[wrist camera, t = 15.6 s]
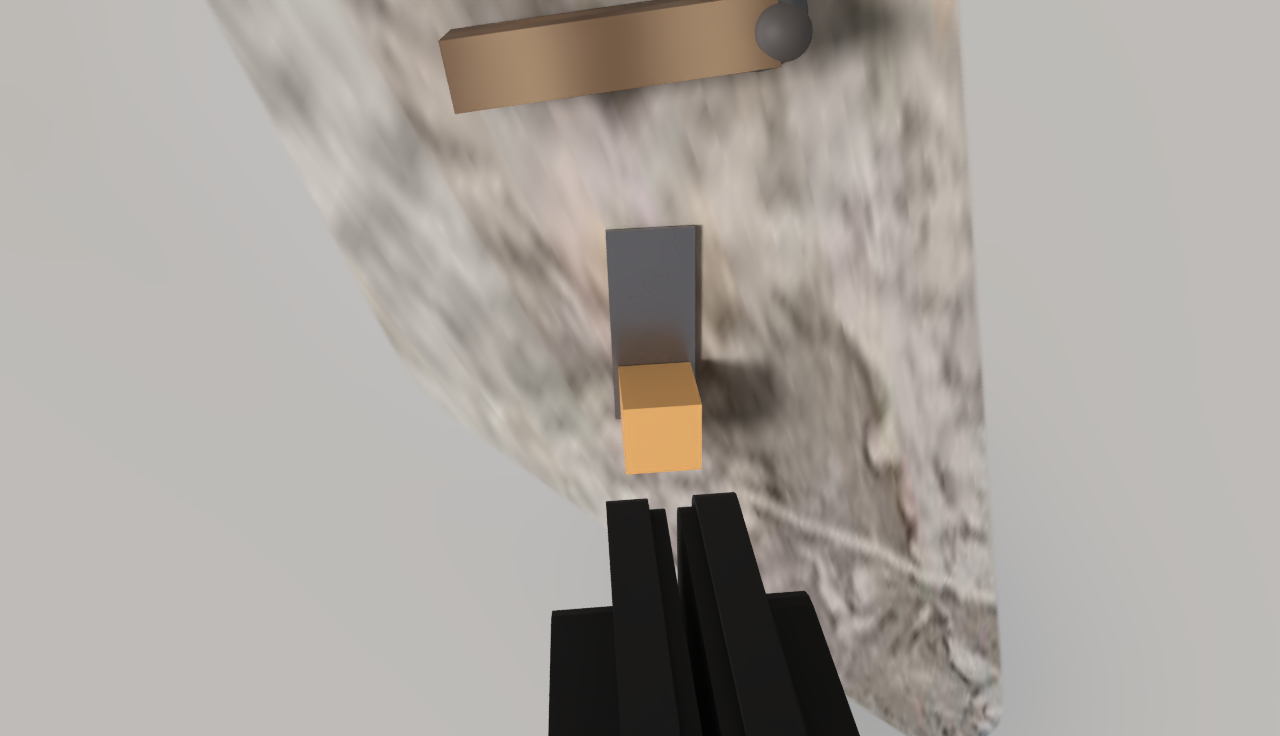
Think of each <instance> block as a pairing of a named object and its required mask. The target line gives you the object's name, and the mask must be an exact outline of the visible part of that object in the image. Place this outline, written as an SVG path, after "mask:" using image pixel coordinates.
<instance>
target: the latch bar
mask: <svg viewBox="0 0 1280 736" xmlns="http://www.w3.org/2000/svg"><path fill="white" fill-rule="evenodd" d="M812 32H813V30H812V23H811V20H810V18H809V16H808V15H807V14H806V13H805V12H804V11H803V10H802V9H800V8H798V7H795V6H793V5H790V4H788V3H785V2H782V1H780V0H652V1H645V2H638V3H631V4H625V5H618V6H611V7H604V8H597V9H590V10H583V11H576V12H569V13H562V14H555V15H548V16H541V17H534V18H527V19H520V20H513V21H506V22H499V23H492V24H485V25H479V26H472V27H465V28H458V29H451V30H450V31H449V32H448V33H447V34H446V35H444V36H443V37H442V38H441V39H440V40H439V41H438V42H439V46H440V50H441V55H442V59H443V63H444V68H445V72H446V77H447V81H448V85H449V90H450V94H451V98H452V103H453V107H454V111H455V114H458V113H465V112H472V111H479V110H486V109H493V108H500V107H507V106H514V105H521V104H528V103H534V102H541V101H548V100H555V99H562V98H569V97H576V96H583V95H590V94H597V93H604V92H611V91H617V90H624V89H631V88H638V87H645V86H652V85H659V84H666V83H673V82H680V81H687V80H694V79H700V78H707V77H714V76H721V75H728V74H735V73H742V72H749V71H756V70H763V69H770V68H776V67H781V61H783V62H786V61H791V60H794V59H796V58H798V57H799V56H801V55H802V54H803V53H804V52H805V51H806V49H807V48H808V46H809V44H810V42H811V39H812Z"/></svg>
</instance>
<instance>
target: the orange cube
mask: <svg viewBox="0 0 1280 736" xmlns="http://www.w3.org/2000/svg"><path fill="white" fill-rule="evenodd" d="M618 372H619V392H620V412H621V429H622V439H623V448H624V458H625V467H626V474H640V473H654V472H668V471H682V470H696V469H702V403H701V399H700V395H699V392H698V388H697V385H696V381H695V377H694V374H693V370H692V367H691V363H690V362H681V363H666V364H650V365H635V366H619V367H618Z"/></svg>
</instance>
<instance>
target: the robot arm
mask: <svg viewBox="0 0 1280 736" xmlns="http://www.w3.org/2000/svg"><path fill="white" fill-rule="evenodd" d="M606 510H607V525H608V541H609V556H610V570H611V571H610V572H611V587H612V603H613V606H607V607H594V608H582V609H570V610H557V611H552V618H551V649H550V693H549V735H548V736H860V735H859V732H858V729H857V726H856V724H855V721H854V718H853V715H852V712H851V709H850V707H849V704H848V701H847V698H846V696H845V693H844V690H843V687H842V684H841V682H840V679H839V676H838V673H837V670H836V668H835V665H834V662H833V659H832V656H831V654H830V651H829V648H828V645H827V642H826V640H825V637H824V634H823V631H822V628H821V626H820V623H819V620H818V617H817V614H816V612H815V609H814V606H813V604H812V601H811V599H810V597H809V595H808V594H807V593H806V592H805V591H796V592H783V593H770V594H766V593H765V589H764V586H763V583H762V579H761V576H760V572H759V569H758V566H757V562H756V559H755V555H754V552H753V549H752V545H751V542H750V538H749V535H748V532H747V528H746V525H745V521H744V518H743V515H742V511H741V508H740V504H739V501H738V498H737V495H736V493H735V492H729V493H715V494H702V495H693V497H692V507H679V508H677V559H678V584H677V578H676V572H675V566H674V560H673V554H672V547H671V541H670V535H669V529H668V523H667V517H666V512H665V509H651V510H649V504H648V499H633V500H619V501H606Z"/></svg>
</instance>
